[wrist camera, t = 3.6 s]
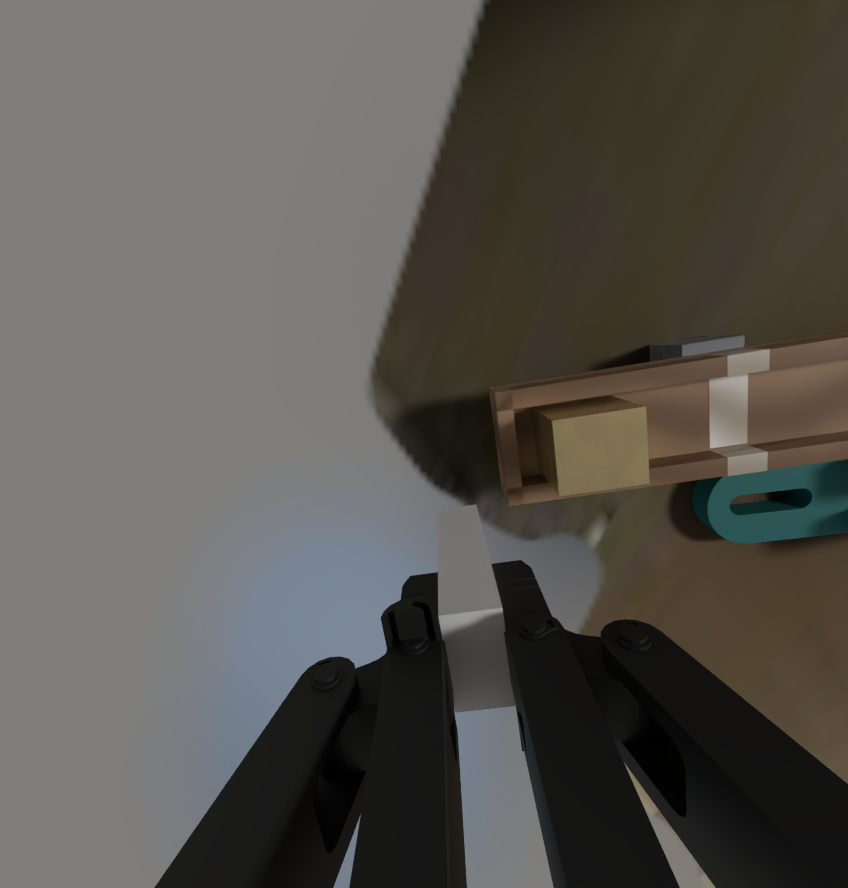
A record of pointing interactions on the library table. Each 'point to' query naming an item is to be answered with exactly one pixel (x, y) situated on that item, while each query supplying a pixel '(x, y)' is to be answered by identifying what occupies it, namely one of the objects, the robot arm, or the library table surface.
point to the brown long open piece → (697, 410)
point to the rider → (592, 444)
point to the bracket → (776, 503)
